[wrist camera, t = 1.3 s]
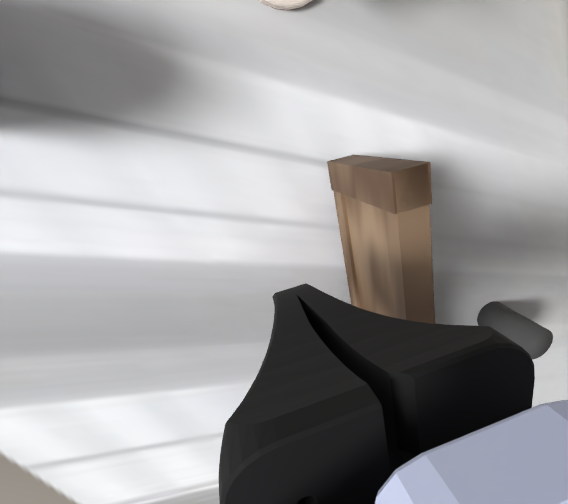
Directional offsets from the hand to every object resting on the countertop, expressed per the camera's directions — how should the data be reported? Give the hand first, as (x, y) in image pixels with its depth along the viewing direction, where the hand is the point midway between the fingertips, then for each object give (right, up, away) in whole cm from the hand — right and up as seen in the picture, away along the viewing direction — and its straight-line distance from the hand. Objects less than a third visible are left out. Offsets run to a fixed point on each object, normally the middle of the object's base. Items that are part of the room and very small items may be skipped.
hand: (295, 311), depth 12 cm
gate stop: (+16, -3, +14) cm, 21 cm away
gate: (+4, +1, +9) cm, 10 cm away
